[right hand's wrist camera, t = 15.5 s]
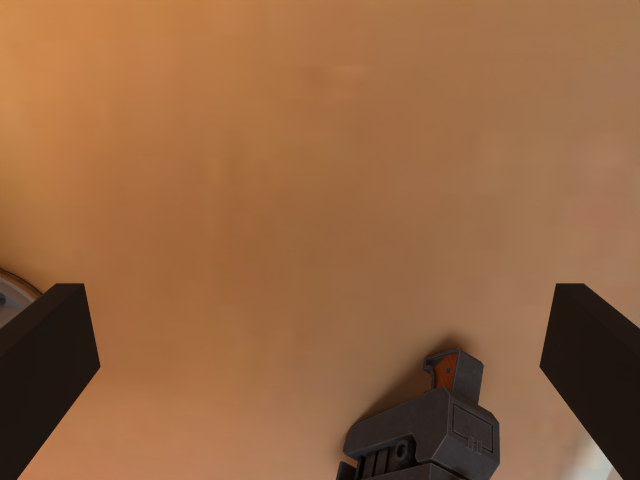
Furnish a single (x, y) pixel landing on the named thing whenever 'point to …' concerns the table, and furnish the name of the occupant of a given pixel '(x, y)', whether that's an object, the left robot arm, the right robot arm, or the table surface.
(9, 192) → the table surface
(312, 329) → the table surface
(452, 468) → the tool
